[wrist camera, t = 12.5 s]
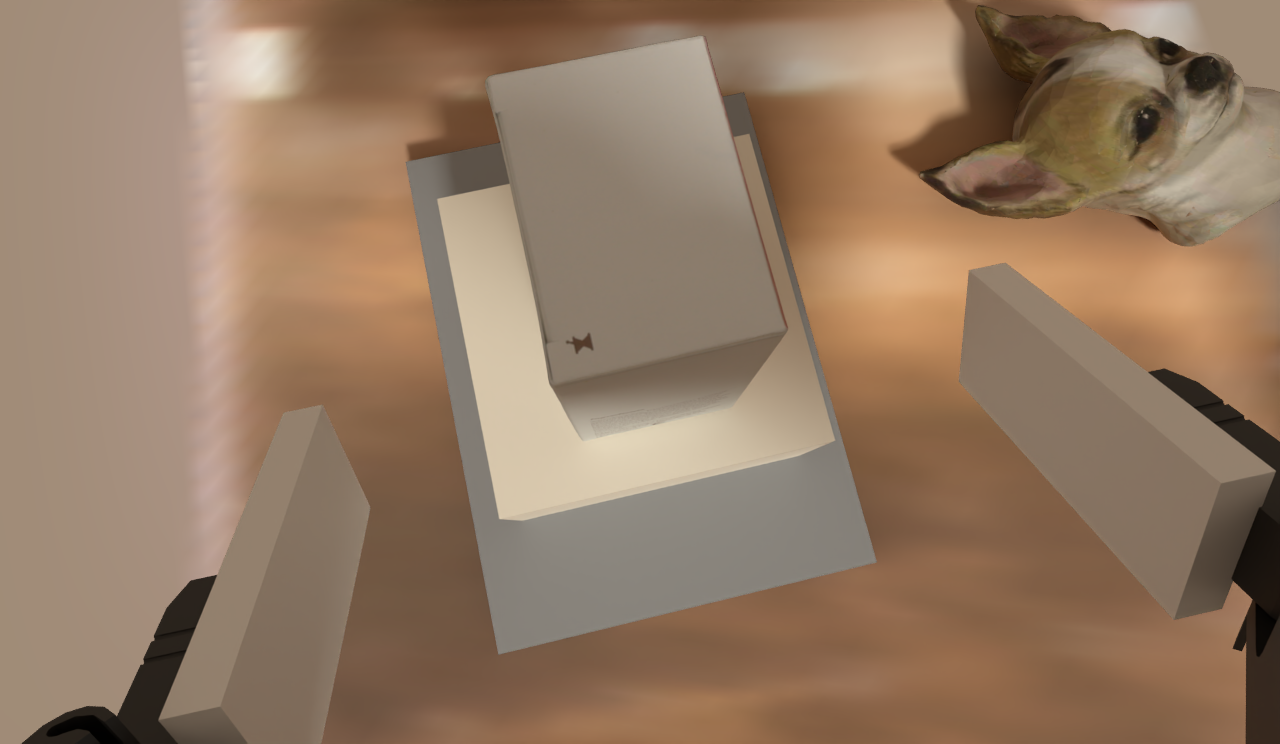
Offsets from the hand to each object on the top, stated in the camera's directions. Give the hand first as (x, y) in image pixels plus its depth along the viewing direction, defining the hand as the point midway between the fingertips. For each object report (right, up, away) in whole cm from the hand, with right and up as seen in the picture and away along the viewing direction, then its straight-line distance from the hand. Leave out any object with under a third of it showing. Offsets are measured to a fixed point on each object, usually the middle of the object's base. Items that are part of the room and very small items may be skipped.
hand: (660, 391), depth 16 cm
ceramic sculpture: (+21, +10, +22) cm, 32 cm away
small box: (-1, +2, +12) cm, 13 cm away
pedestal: (-1, +1, +20) cm, 20 cm away
